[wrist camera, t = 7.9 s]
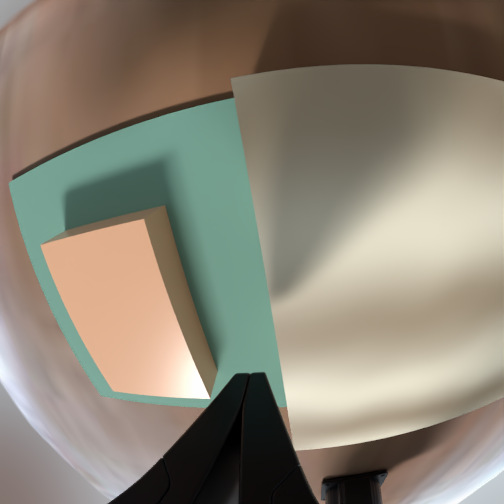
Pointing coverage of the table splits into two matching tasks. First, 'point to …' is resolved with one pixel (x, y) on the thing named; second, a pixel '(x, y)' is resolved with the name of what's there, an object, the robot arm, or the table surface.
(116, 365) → the peach flat block
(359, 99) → the cream flat block
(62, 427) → the table surface
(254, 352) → the mat
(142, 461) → the table surface
